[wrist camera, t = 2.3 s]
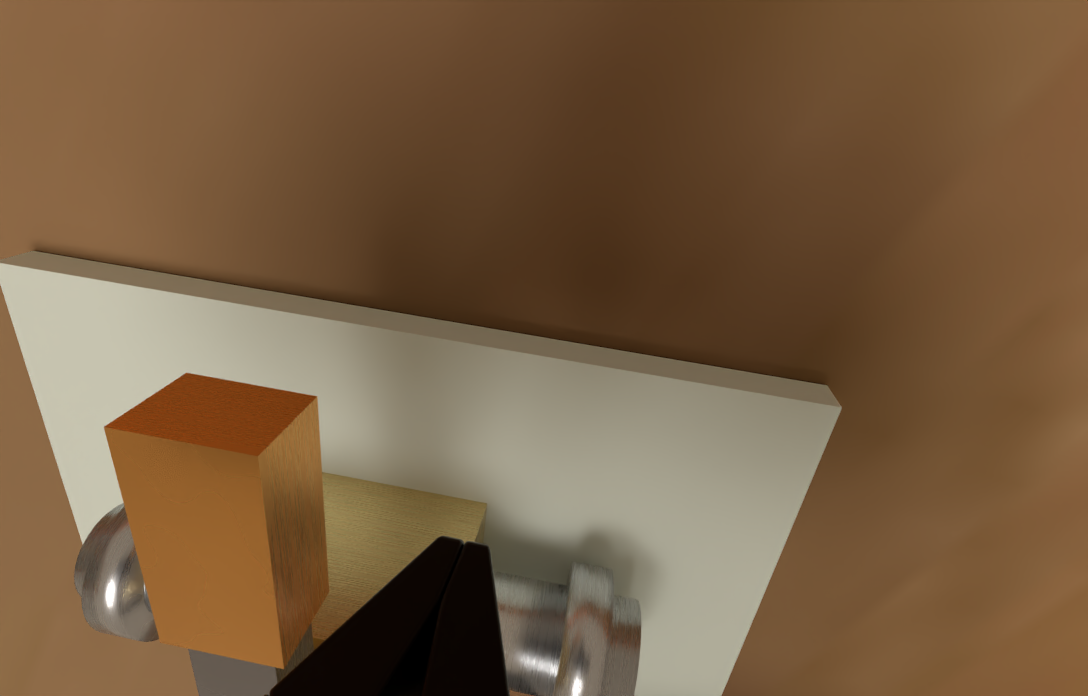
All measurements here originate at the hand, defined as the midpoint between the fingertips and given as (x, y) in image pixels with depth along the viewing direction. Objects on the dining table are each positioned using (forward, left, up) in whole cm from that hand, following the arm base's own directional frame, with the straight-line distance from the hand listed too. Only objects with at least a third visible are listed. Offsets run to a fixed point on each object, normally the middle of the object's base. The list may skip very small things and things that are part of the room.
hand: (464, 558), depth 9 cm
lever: (-4, +4, -1) cm, 5 cm away
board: (-6, +4, -8) cm, 11 cm away
